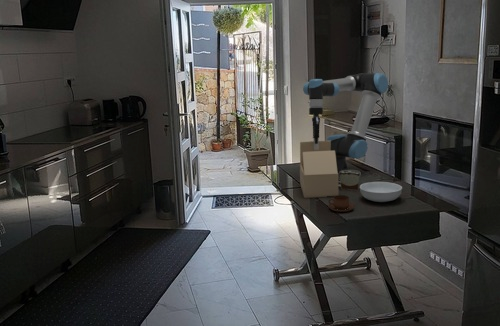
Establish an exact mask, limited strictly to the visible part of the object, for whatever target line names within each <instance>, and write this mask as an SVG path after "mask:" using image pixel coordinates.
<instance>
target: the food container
mask: <svg viewBox="0 0 500 326" xmlns="http://www.w3.org/2000/svg"><path fill="white" fill-rule="evenodd" d="M338 176H339V181H340V189H341V190H345V189H346V190H349V191H359V190H360V178H361V177H362V174H361V171H360V170H357V169H349V170H342V171H340V172H339V173H338Z"/></svg>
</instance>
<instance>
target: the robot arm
mask: <svg viewBox="0 0 500 326" xmlns="http://www.w3.org/2000/svg"><path fill="white" fill-rule="evenodd" d="M302 88H303V89H302V90H303V93H304V94H305V95H307V96H308V99H309V101H307V102H308V107H309V109H308V114H309V115H311V116H312V115H313V116H312V117H311V122H312V139H313V141H314V150H319V141H320V140H319V139H320V123H321V117H319V115H323V114H324V110H323V109H324V108H323V107H324V97H336V96H338V94H339V92H344V91H348V92H361V94H362V98H361V101H360V104H359V107H358V110H357V113H356V115H355V118H354V122H353V124H352V127H351V129H350V130H351V131H350V132H348V133H347V135H346V134H345V133H341V134H339V133H338V134H331V135H328V136H327V138H326V141H331V151H335V155H336V164H337V172H338V174H339V172H340V171H342V170H350V169H349V167H350V166H349V165H348V164H349V163H348V161H347V159H346V158H351V159H361V158H363V157H364V156H365V155H366V153H367V151H368V143H367V138H366V134H367V130H368V127H369V124H370V121H371V118H372V116H373V112H374V109H375V107H376V103H377V100H378V99H380V98H381V97H382V94H384V93H387V91H388V89H389V80H388V77H387V76H386V74H384V73H381V72H367V73H366V72H362V73H358V74H351V75H347V76H346V77H344V78H343V77H342V78H337V79H335V78H334V79H328V80H327V79H326V80H323V79H322V78H313V79H310V80H309V82H308V81H307V82H306V83H304V85H303V87H302Z"/></svg>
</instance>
